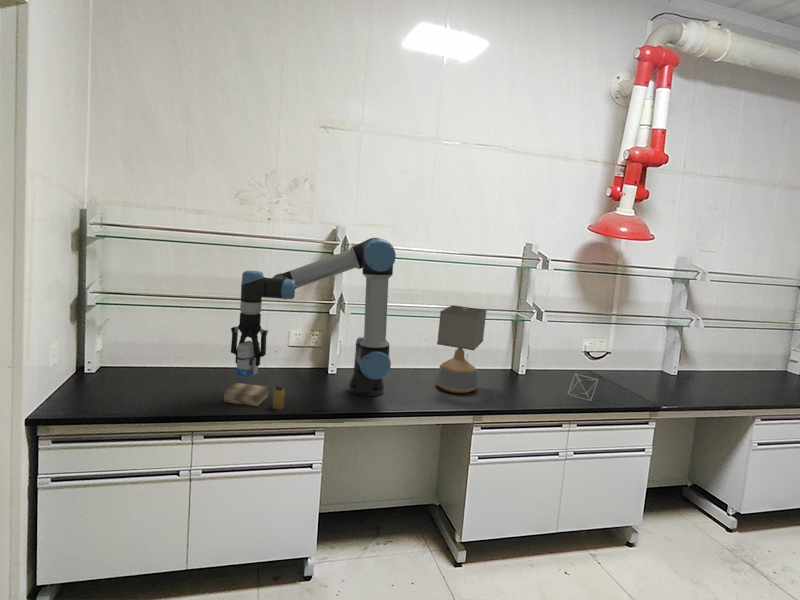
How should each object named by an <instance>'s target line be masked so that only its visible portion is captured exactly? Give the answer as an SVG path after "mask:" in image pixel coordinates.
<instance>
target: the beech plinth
mask: <svg viewBox="0 0 800 600" xmlns="http://www.w3.org/2000/svg"><path fill="white" fill-rule="evenodd" d="M268 396H269V386H265V385H257V384H249V383H248V384H247V383H240V382H235V383H234V384H232V385H231V386H229V387H228V388H227V389H225V390H223V402H224V403H232V404H239V405H248V406H254V407H258V406H259V405H260V404H261V403H262V402H263V401H265V400H266V399H268Z"/></svg>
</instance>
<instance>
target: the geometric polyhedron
mask: <svg viewBox="0 0 800 600" xmlns="http://www.w3.org/2000/svg"><path fill="white" fill-rule="evenodd" d="M575 376H576V378H577V381H576V383H575V384H574V386H573V383H574V380H575ZM578 376H581V377H585V378H590V379H591V380H593V381H595V382H594V384H592V386H591V387H590V388H589V390H588V391H586V390H585V388H584V386H583V385H582V384H583V383H582V382H581V379H579V377H578ZM598 382H599V379H598V378H593V377H591V376H586V375H581V374H578V373H574V376H573V378H572V381H571V383H570V386H569V389H568V391H567V395H569V396H572V397H575V398H579V399H583V400H586V401H590V402H591V401H592V400H593V399H592V398H593V396H594V393H595V390H596V387H597V384H598ZM578 383H579V384H580V386H581V387H582V389H583V391H584V392H585V393H583V392H581V395H586V396H587V397H588V398H587V399H586V398H583V397H580V396H576V395H574V394H571V393H570V392H571V391H572V390H573V389H574V388H575V386H576V385H577V384H578ZM594 385H595V387H594ZM572 386H573V387H572ZM593 387H594V389H593V392H592V395H591V397H589V394H588V393H589V391H590V390H591V389H592V388H593Z"/></svg>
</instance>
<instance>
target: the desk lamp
mask: <svg viewBox="0 0 800 600" xmlns="http://www.w3.org/2000/svg"><path fill="white" fill-rule="evenodd" d="M486 316H487V309H482V308H475V307H467V306H461V305H453V304H452V305H450V306H448V307H446V308H444V309H441V311H440V312H439V323H438V331H437V333H438V334H437V341H436V345H438V346H443V347H445V346H446V347H450V348H457V349H455V350H454V355H453V358H450V359H448V360H446V361H443V362H442V363H441V364H440V365H439V368H438V370H437V371H438V372H437V375H436V376H435V377H436V378H435V384H436V385H437V386H438V387H440V388H441V389H442V390H444V391H446V392H449V393H453V394H467V393H470V392H473V391H474V390H477V388H478V377H477V376H478V375H477V369H476V367H475V366H474V365H473V364H471V363H470V362H469V361H468V360H466V359H465V357H466V356H465V350H468V351H469V350H470V351H475V350H476V349H477V348H478V347H479V346H480V345H481V344H482V343H483V342H484V336H485V335H484V334H485V326H486V318H487V317H486Z"/></svg>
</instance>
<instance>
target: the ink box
mask: <svg viewBox="0 0 800 600" xmlns="http://www.w3.org/2000/svg"><path fill="white" fill-rule="evenodd" d="M258 343H259V344H260V342H259V341H258ZM238 344H239V343H238ZM238 344H237V347H238V354H237V363H236V369H235V370H236V373H235V375H236V376H240V377H247V378H249V377H250V376H252V375H253V359H254V357H256V356H255V351H254V346H253V342H252V340H245V342H244V343H240V344H239V345H238ZM258 371H259V366H258V367H257V373H258Z"/></svg>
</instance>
